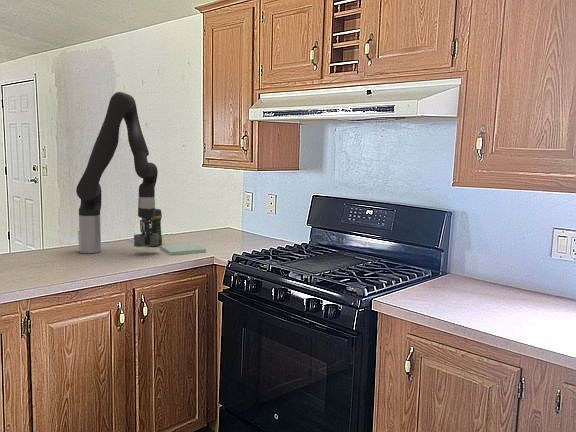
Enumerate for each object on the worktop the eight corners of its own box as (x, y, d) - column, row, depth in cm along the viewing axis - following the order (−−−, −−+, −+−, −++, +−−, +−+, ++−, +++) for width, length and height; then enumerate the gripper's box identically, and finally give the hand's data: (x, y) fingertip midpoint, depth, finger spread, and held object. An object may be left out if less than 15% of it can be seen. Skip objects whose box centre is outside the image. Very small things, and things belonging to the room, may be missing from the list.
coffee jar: (164, 244, 263) (164, 208, 260) (154, 247, 256) (154, 209, 253) (149, 242, 267) (148, 206, 264) (138, 245, 259) (138, 208, 257)
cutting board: (171, 255, 239) (171, 252, 239) (159, 249, 252) (159, 245, 252) (205, 252, 248) (205, 249, 247) (193, 246, 261) (193, 243, 261)
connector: (130, 247, 234) (130, 236, 234) (127, 245, 238) (127, 234, 237) (159, 245, 241) (159, 234, 241) (156, 243, 245) (156, 233, 244)
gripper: (134, 205, 242) (133, 241, 244) (142, 208, 230) (142, 247, 232) (150, 204, 246) (149, 240, 248) (159, 208, 234) (159, 246, 236)
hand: (146, 243), depth 240 cm, fingers closed on connector, 4 cm apart
